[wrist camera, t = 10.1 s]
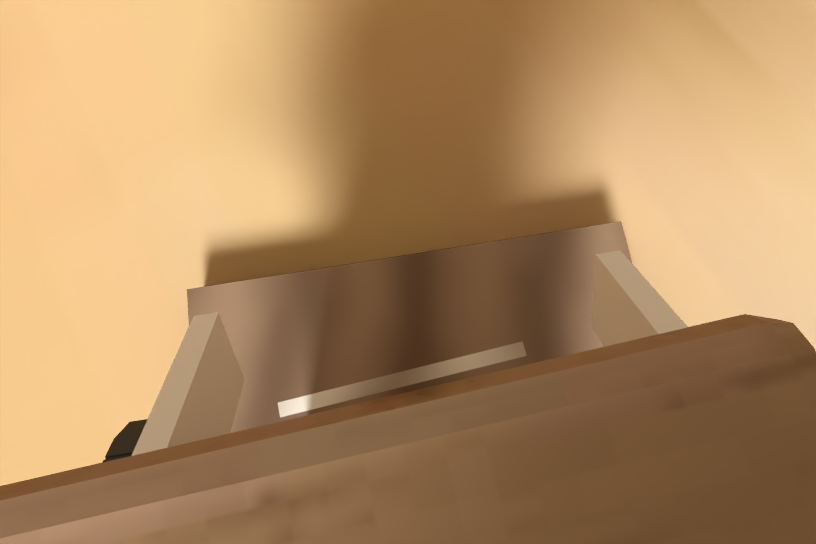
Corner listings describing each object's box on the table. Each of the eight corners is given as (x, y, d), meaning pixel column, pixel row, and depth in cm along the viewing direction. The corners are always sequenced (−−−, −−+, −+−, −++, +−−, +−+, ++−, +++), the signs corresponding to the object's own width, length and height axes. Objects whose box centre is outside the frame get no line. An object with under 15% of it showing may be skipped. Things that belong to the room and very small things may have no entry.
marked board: (607, 233, 29) (621, 221, 27) (701, 603, 24) (725, 621, 22) (203, 296, 29) (187, 289, 27) (227, 679, 24) (210, 703, 22)
